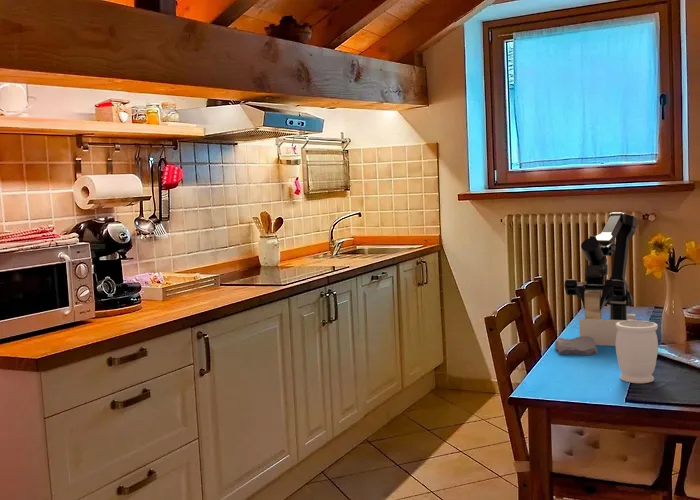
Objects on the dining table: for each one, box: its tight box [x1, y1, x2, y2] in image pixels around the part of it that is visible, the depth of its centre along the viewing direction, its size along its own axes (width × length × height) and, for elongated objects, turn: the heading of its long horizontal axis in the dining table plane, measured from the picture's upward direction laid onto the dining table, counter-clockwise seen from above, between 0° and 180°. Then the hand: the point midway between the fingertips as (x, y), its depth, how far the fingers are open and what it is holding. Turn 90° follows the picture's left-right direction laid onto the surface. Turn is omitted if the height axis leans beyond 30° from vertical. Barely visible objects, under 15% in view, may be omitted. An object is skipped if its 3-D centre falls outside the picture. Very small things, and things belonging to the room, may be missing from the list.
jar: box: [615, 319, 659, 384], centre depth 194 cm, size 11×10×15 cm
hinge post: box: [627, 313, 637, 320], centre depth 230 cm, size 2×2×10 cm
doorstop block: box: [584, 290, 602, 319], centre depth 239 cm, size 4×4×12 cm
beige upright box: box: [578, 317, 626, 347], centre depth 234 cm, size 3×14×8 cm, turn 64°
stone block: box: [554, 336, 598, 356], centre depth 227 cm, size 12×5×10 cm
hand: (592, 309), depth 237 cm, fingers closed on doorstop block, 4 cm apart
